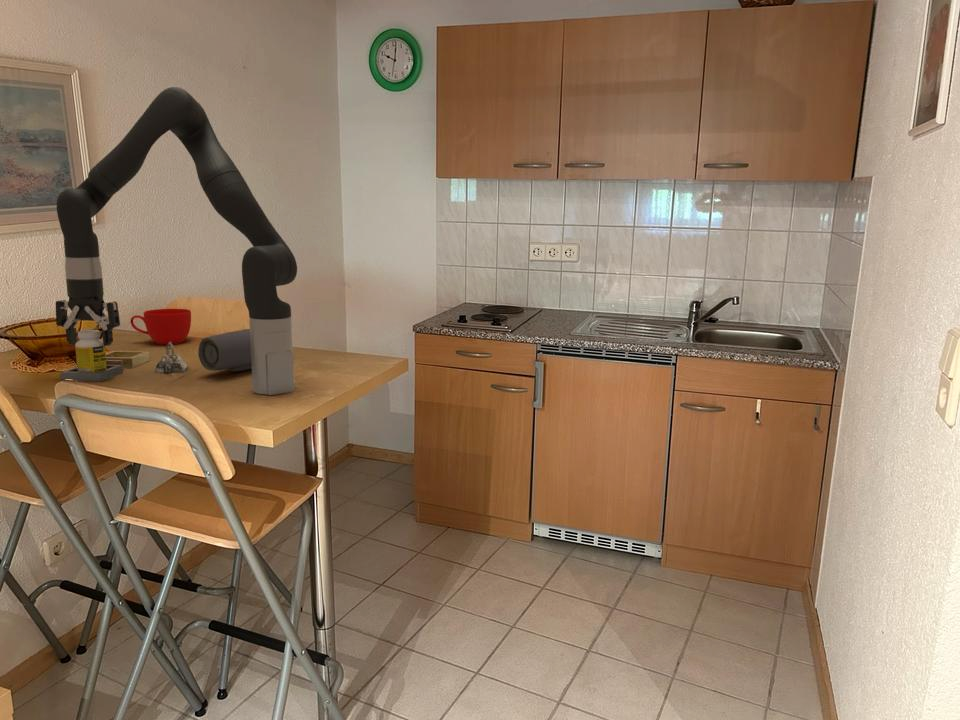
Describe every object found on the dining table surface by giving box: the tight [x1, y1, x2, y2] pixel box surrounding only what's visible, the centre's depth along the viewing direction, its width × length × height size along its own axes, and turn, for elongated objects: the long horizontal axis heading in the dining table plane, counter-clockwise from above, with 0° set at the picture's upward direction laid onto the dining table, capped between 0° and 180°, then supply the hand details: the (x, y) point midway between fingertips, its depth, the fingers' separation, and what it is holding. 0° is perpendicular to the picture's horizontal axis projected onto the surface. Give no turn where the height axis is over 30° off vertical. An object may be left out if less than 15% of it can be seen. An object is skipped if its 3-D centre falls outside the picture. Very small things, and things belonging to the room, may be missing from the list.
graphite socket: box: [60, 365, 124, 383], centre depth 172 cm, size 10×10×2 cm
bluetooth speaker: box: [197, 328, 252, 373], centre depth 184 cm, size 23×9×10 cm, turn 148°
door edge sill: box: [106, 360, 125, 371], centre depth 180 cm, size 9×1×2 cm, turn 90°
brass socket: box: [105, 350, 150, 369], centre depth 187 cm, size 10×10×2 cm
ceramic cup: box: [129, 308, 192, 346], centre depth 214 cm, size 13×17×10 cm
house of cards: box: [154, 342, 189, 374], centre depth 177 cm, size 9×9×8 cm
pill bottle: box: [74, 329, 107, 372], centre depth 171 cm, size 6×6×11 cm
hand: (90, 344), depth 171 cm, fingers open, 8 cm apart
